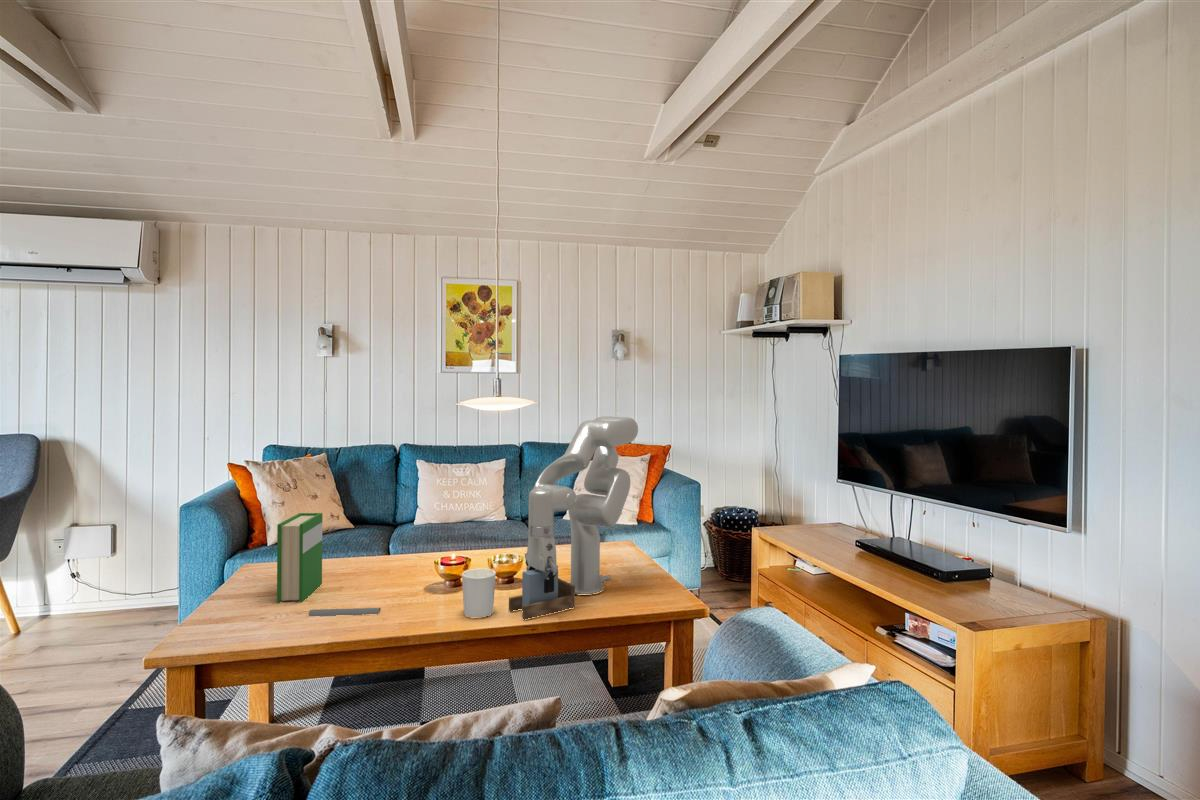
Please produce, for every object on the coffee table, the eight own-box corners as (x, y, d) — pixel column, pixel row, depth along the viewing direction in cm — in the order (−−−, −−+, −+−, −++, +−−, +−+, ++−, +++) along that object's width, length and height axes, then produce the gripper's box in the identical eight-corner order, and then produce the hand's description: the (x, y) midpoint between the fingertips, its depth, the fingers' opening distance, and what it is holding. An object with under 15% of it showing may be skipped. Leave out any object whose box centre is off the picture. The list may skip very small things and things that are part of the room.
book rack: (557, 600, 195) (557, 578, 195) (574, 608, 188) (574, 585, 188) (508, 611, 185) (509, 587, 185) (524, 620, 177) (524, 596, 177)
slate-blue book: (550, 605, 191) (551, 566, 190) (557, 609, 187) (558, 569, 187) (522, 612, 185) (522, 571, 184) (528, 616, 181) (529, 575, 181)
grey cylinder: (462, 621, 177) (463, 579, 176) (460, 609, 186) (460, 569, 186) (497, 618, 179) (497, 576, 179) (493, 606, 189) (493, 567, 189)
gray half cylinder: (378, 616, 181) (378, 610, 181) (307, 618, 178) (307, 612, 178) (381, 611, 185) (381, 605, 185) (312, 613, 182) (312, 607, 182)
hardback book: (302, 602, 190) (302, 524, 189) (276, 603, 189) (277, 524, 189) (321, 584, 207) (322, 512, 207) (298, 585, 207) (299, 513, 206)
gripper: (567, 534, 181) (566, 593, 181) (537, 524, 195) (536, 578, 195) (545, 538, 176) (544, 598, 177) (515, 526, 190) (515, 582, 191)
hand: (540, 587), depth 186 cm, fingers open, 9 cm apart
